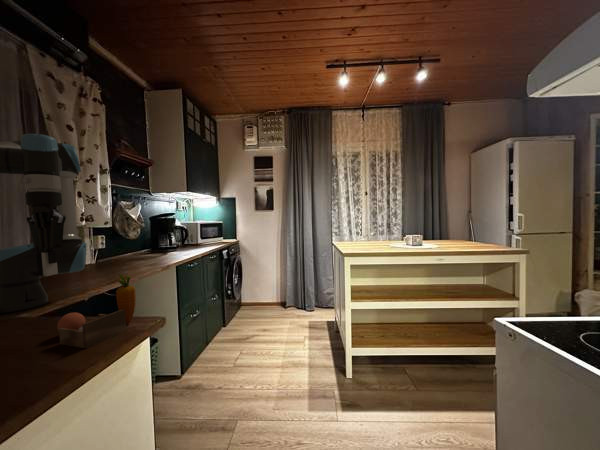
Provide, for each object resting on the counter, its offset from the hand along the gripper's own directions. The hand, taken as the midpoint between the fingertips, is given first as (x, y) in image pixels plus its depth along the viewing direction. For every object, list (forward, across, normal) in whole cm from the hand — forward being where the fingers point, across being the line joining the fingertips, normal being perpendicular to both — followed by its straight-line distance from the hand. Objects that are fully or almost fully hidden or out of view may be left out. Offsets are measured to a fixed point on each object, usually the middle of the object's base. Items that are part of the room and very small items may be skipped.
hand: (50, 274), depth 79 cm
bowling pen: (+16, +16, 0) cm, 23 cm away
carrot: (+17, +17, +9) cm, 25 cm away
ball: (+13, +8, 0) cm, 15 cm away
